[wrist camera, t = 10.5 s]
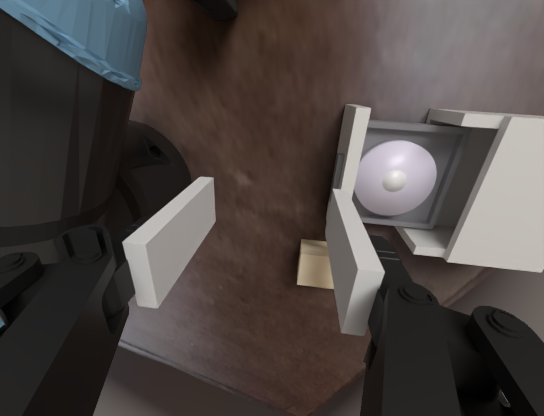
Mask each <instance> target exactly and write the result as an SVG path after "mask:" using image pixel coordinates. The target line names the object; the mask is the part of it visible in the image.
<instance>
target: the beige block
mask: <svg viewBox="0 0 544 416" xmlns="http://www.w3.org/2000/svg"><path fill="white" fill-rule="evenodd" d="M297 285H305V286H313V287H321V288H330V289H334V285H333V279H332V273H331V267H330V261H329V254H328V248H327V242H325V241H316V240H306V239H301V244H300V252H299V260H298V267H297Z"/></svg>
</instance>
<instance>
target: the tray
mask: <svg viewBox="0 0 544 416" xmlns="http://www.w3.org/2000/svg"><path fill="white" fill-rule="evenodd" d="M370 111H371V108H368V107H364V106H360V105H354V104H345V109H344V115H343V121H342V127H341V132H340V138H339V144H338V150H337V156H336V162H335V167H334V173H333V179H332V185H331V191H330V197H329V202H328V208H327V214H326V223H327V219H328V213H329V207H330V201H331V196H332V190H333V189H341V190H347V191H348V193H349V195H350V197H351V199H352V201H353V204H354V206H355V208H356V210H357V212H358V215H359V217H360V219H361V221H362V223H372V224H382V225H392V226H402V227H412V228H422V229H431V230H433V228H434V226H435V223H436V221H437V218H438V215H439V213H440V210H441V208H442V205H443V203H444V200H445V198H446V195H447V193H448V190H449V187H450V185H451V182H452V180H453V177H454V175H455V172H456V170H457V167H458V164H459V162H460V159H461V157H462V154H463V152H464V149H465V147H466V144H467V142H468V139H469V136H470V134H471V131H472V129H473V128H469V127H464V126H453V125H439V124H425V123H411V122H397V121H382V120H369V116H370ZM392 139H401V140H407V141H410V142H412V143H414V144H417V145H419V146H421V147H422V148H424V149H425V150H426V151H428V152H429V153H430V155H431V156H432V158H433V160H434V162H435V165H436V170H437V176H436V181H435V185H434V187H433V189H432V191H431V193H430V194H429V196H428V197H427V198H426V199H425V200H424V201H423V202H422V203H421V204H420V205H419V206H417V207H416V208H414V209H412V210H410V211H408V212H406V213H402V214H399V215H390V216H388V215H380V214H376V213H374V212H371V211H370V210H368V209H366V208H365V207H364V206H363V205H362V204H361V203H360V201H359V200H358V198H357V196H356V194H355V192H354V186H355V181H356V177H357V172H358V167H359V163H360V158H361V156H362V155H363V153H364V152H365V151H367V150H368V149H369V148H371V147H372V146H374V145H376V144H378V143H380V142H383V141H386V140H392Z"/></svg>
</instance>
